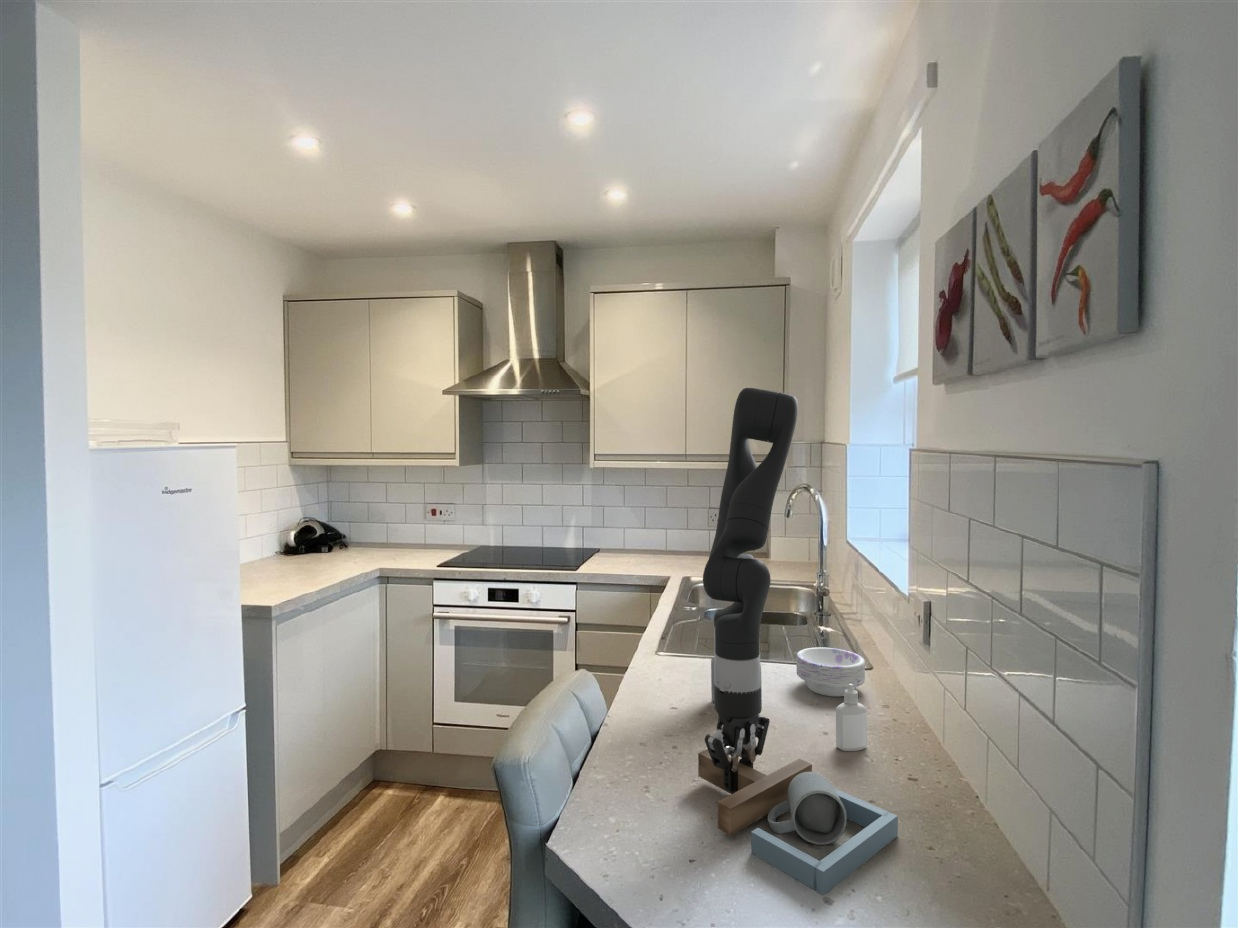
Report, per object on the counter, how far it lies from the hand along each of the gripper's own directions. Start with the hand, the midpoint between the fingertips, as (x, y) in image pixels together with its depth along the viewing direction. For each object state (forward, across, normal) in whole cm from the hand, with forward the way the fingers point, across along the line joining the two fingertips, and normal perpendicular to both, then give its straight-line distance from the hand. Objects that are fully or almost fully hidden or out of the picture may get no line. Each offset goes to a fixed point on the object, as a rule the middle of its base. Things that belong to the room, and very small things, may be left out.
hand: (738, 786), depth 105 cm
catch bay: (+2, 0, +16) cm, 16 cm away
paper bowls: (+2, -53, -17) cm, 56 cm away
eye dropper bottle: (+2, -30, +2) cm, 30 cm away
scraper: (+1, 0, 0) cm, 1 cm away
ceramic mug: (+2, -1, +12) cm, 12 cm away
